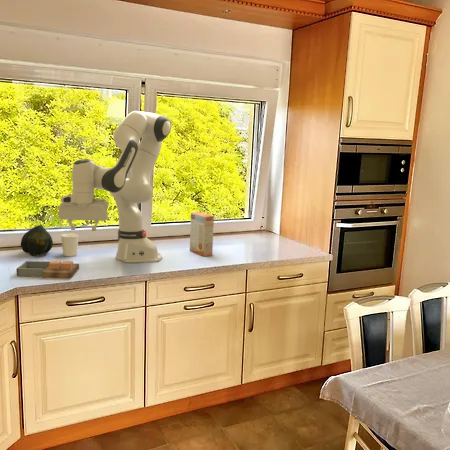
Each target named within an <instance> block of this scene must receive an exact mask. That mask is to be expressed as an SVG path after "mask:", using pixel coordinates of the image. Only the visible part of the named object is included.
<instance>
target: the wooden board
mask: <svg viewBox="0 0 450 450" xmlns="http://www.w3.org/2000/svg"><path fill="white" fill-rule="evenodd" d="M79 270H80V263H74V262H73V267H72V268H71V269H61V267H60V268H59V269H49V266H48V267H47V268H46V269H45V270H44V271H43V272H42V277H41V278H42V279H73V278H74V276H75V275H76V274H77V272H78V271H79Z"/></svg>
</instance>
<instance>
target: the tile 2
mask: <svg viewBox="0 0 450 450" xmlns="http://www.w3.org/2000/svg"><path fill="white" fill-rule="evenodd" d="M73 263H74V262H73V260H63V261H61V269H71V268H72V267H73Z"/></svg>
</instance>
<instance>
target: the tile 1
mask: <svg viewBox="0 0 450 450" xmlns="http://www.w3.org/2000/svg"><path fill="white" fill-rule="evenodd" d="M61 263H62V260H51V261H50V263H49V269H59V268H60V267H61Z"/></svg>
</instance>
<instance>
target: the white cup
mask: <svg viewBox="0 0 450 450" xmlns="http://www.w3.org/2000/svg"><path fill="white" fill-rule="evenodd" d="M78 246H79V233H71V232H70V233H69V232H68V233H62V234H61V249H62V255H63V256H64V257H75V256H78V249H79V247H78Z"/></svg>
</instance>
